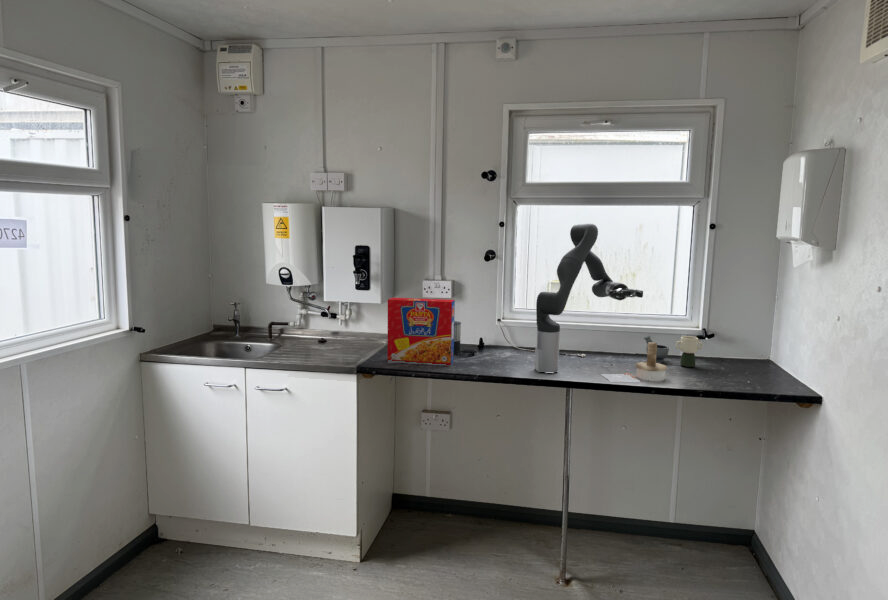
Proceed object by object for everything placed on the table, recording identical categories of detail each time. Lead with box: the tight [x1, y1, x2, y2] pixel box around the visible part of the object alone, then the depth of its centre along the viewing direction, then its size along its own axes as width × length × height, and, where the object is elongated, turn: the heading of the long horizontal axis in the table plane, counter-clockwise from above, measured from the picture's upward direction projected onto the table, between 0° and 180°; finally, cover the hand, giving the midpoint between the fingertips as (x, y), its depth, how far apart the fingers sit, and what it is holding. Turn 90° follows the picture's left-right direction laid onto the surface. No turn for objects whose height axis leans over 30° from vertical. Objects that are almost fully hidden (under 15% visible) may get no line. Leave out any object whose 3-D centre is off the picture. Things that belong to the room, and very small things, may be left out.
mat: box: [622, 372, 638, 379], centre depth 225 cm, size 13×14×1 cm
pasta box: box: [387, 297, 456, 366], centre depth 246 cm, size 28×8×28 cm, turn 80°
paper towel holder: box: [634, 341, 668, 372], centre depth 225 cm, size 12×12×10 cm
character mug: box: [675, 335, 703, 368], centre depth 247 cm, size 11×7×13 cm, turn 80°
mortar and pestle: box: [643, 334, 670, 364], centre depth 256 cm, size 11×9×12 cm
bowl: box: [636, 368, 666, 382], centre depth 226 cm, size 10×10×4 cm
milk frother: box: [454, 320, 478, 355], centre depth 265 cm, size 14×16×15 cm
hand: (631, 295), depth 237 cm, fingers open, 8 cm apart
